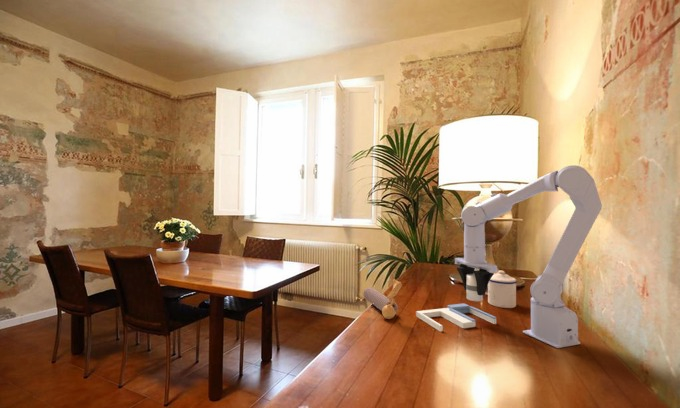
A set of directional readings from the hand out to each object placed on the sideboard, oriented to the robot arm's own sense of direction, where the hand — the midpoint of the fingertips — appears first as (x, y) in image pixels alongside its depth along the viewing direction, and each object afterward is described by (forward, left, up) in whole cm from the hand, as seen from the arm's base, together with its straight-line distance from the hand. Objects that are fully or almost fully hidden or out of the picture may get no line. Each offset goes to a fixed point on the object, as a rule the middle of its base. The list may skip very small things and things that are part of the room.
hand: (474, 292), depth 88 cm
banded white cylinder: (0, 0, -2) cm, 2 cm away
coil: (+19, +22, -8) cm, 30 cm away
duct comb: (+2, +5, -8) cm, 10 cm away
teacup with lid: (+11, -20, -8) cm, 24 cm away
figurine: (+8, +23, -8) cm, 26 cm away
